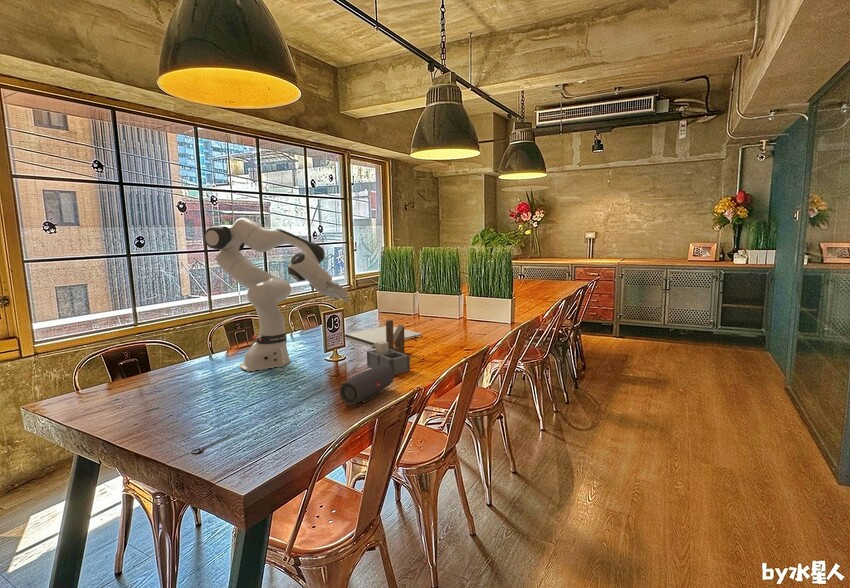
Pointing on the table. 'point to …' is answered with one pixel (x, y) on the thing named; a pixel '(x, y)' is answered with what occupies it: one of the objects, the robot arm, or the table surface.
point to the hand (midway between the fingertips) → (342, 300)
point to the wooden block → (395, 337)
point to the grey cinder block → (389, 361)
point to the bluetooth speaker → (366, 384)
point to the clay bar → (381, 347)
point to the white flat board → (375, 336)
